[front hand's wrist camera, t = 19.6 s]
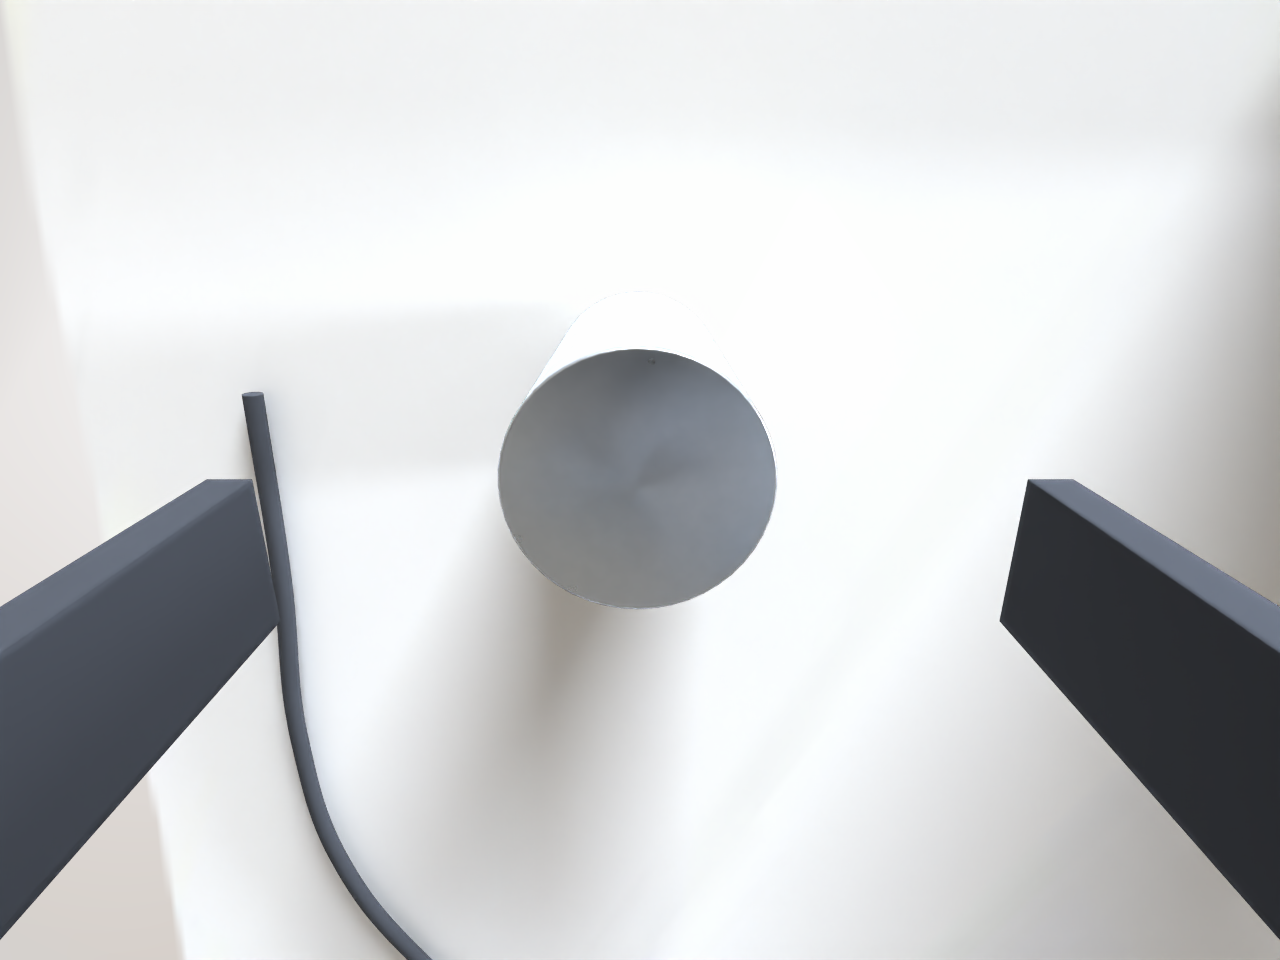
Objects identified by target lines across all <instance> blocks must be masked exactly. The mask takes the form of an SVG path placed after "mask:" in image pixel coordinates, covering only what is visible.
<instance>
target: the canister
mask: <svg viewBox="0 0 1280 960" xmlns="http://www.w3.org/2000/svg"><path fill="white" fill-rule="evenodd" d="M776 489H777V466H776V459H775V452H774V448H773V445H772V441H771V438H770V434H769V432H768V430H767V428H766V426H765V423H764V421H763V419H762V417H761V416H760V414H759V412H758V411H757V409H756V408H755V406H754V404H753V403H752V401H751V400H750V398H749V396H748V395H747V393H746V391H745V390H744V388H743V387H742V385H741V383H740V382H739V380H738V379H737V377H736V375H735V374H734V372H733V371H732V369H731V367H730V366H729V364H728V363H727V361H726V359H725V358H724V356H723V355H722V353H721V351H720V350H719V348H718V347H717V345H716V343H715V342H714V340H713V338H712V337H711V335H710V334H709V332H708V331H707V329H706V327H705V326H704V324H703V323H702V322H701V321H700V320H699V318H698V317H697V316H696V315H695V314H693V313H692V312H691V311H690V310H689V309H688V308H686V307H685V306H683V305H682V304H680V303H679V302H677V301H675V300H673V299H671V298H668V297H665V296H662V295H659V294H654V293H649V292H626V293H621V294H616V295H613V296H610V297H608V298H605V299H603V300H601V301H599V302H597V303H595V304H594V305H592V306H591V307H589V308H588V309H587V310H585V311H584V312H583V313H582V314H581V315H580V316H579V317H578V318H577V319H576V320H575V322H574V323H573V324H572V325H571V327H570V328H569V330H568V331H567V333H566V335H565V336H564V338H563V339H562V341H561V342H560V344H559V346H558V347H557V349H556V350H555V352H554V354H553V355H552V357H551V358H550V360H549V361H548V363H547V365H546V366H545V368H544V369H543V371H542V372H541V374H540V376H539V377H538V379H537V380H536V382H535V384H534V385H533V387H532V388H531V390H530V391H529V393H528V395H527V396H526V398H525V399H524V401H523V402H522V404H521V406H520V407H519V409H518V410H517V412H516V414H515V415H514V417H513V419H512V421H511V423H510V425H509V427H508V430H507V432H506V434H505V437H504V441H503V444H502V448H501V451H500V457H499V465H498V490H499V497H500V504H501V507H502V511H503V514H504V518H505V521H506V523H507V525H508V528H509V530H510V532H511V534H512V536H513V538H514V540H515V541H516V543H517V545H518V546H519V548H520V549H521V551H522V552H523V553H524V555H525V556H526V557H527V558H528V559H529V561H530V562H531V563H532V564H533V565H534V566H535V567H536V568H537V569H538V570H539V571H540V572H541V573H542V574H543V575H544V576H546V577H547V578H548V579H550V580H551V581H552V582H554V583H555V584H556V585H558V586H559V587H561V588H563V589H565V590H566V591H568V592H570V593H572V594H574V595H576V596H578V597H581V598H583V599H585V600H588V601H591V602H594V603H598V604H601V605H605V606H611V607H617V608H626V609H648V608H658V607H664V606H670V605H674V604H677V603H680V602H684V601H687V600H690V599H692V598H694V597H697V596H699V595H701V594H704V593H705V592H707V591H709V590H710V589H712V588H714V587H716V586H717V585H719V584H720V583H721V582H723V581H724V580H725V579H727V578H728V577H729V576H731V575H732V574H733V573H734V572H735V571H736V570H737V569H738V568H739V567H740V566H741V565H742V564H743V563H744V562H745V561H746V559H747V558H748V557H749V556H750V554H751V553H752V552H753V551H754V549H755V548H756V546H757V544H758V543H759V541H760V539H761V538H762V536H763V534H764V532H765V530H766V527H767V525H768V523H769V520H770V517H771V514H772V510H773V507H774V503H775V496H776Z"/></svg>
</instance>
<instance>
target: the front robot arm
mask: <svg viewBox="0 0 1280 960" xmlns="http://www.w3.org/2000/svg"><path fill="white" fill-rule="evenodd" d="M242 399H243V405H244V411H245V417H246V423H247V429H248V435H249V440H250V446H251V452H252V458H253V464H254V470H255V475H256V481H257V487H258V493H259V499H260V505H261V511H262V517H263V523H264V529H265V535H266V542H267V548H268V555H269V562H270V567H269V562H268V557H267V552H266V547H265V542H264V537H263V532H262V527H261V522H260V517H259V512H258V507H257V502H256V497H255V492H254V487H253V482H252V479H207V480H205V481H203V482H202V483H200V484H199V485H197V486H195V487H194V488H192V489H191V490H189V491H187V492H186V493H184V494H182V495H181V496H179V497H178V498H176V499H174V500H173V501H171V502H169V503H168V504H166V505H165V506H163V507H161V508H160V509H158V510H156V511H155V512H153V513H152V514H150V515H148V516H147V517H145V518H144V519H142V520H140V521H139V522H137V523H135V524H134V525H132V526H131V527H129V528H127V529H126V530H124V531H122V532H121V533H119V534H118V535H116V536H114V537H113V538H111V539H109V540H108V541H106V542H105V543H103V544H101V545H100V546H98V547H97V548H95V549H93V550H92V551H90V552H88V553H87V554H85V555H84V556H82V557H80V558H79V559H77V560H75V561H74V562H72V563H71V564H69V565H67V566H66V567H64V568H63V569H61V570H59V571H58V572H56V573H54V574H53V575H51V576H50V577H48V578H46V579H45V580H43V581H41V582H40V583H38V584H37V585H35V586H33V587H32V588H30V589H28V590H27V591H25V592H24V593H22V594H20V595H19V596H17V597H15V598H14V599H12V600H11V601H9V602H7V603H6V604H4V605H3V606H1V607H0V939H1V938H2V937H3V936H4V935H5V934H6V933H7V931H8V930H9V929H10V928H11V927H12V926H13V925H14V924H15V922H16V921H17V920H18V919H19V918H20V917H21V916H22V914H23V913H24V912H25V911H26V910H27V909H28V908H29V906H30V905H31V904H32V903H33V902H34V901H35V900H36V899H37V897H38V896H39V895H40V894H41V893H42V892H43V891H44V889H45V888H46V887H47V886H48V885H49V884H50V883H51V881H52V880H53V879H54V878H55V877H56V876H57V875H58V873H59V872H60V871H61V870H62V869H63V868H64V867H65V865H66V864H67V863H68V862H69V861H70V860H71V859H72V858H73V856H74V855H75V854H76V853H77V852H78V851H79V850H80V848H81V847H82V846H83V845H84V844H85V843H86V842H87V840H88V839H89V838H90V837H91V836H92V835H93V834H94V833H95V831H96V830H97V829H98V828H99V827H100V826H101V825H102V823H103V822H104V821H105V820H106V819H107V818H108V817H109V815H110V814H111V813H112V812H113V811H114V810H115V809H116V807H117V806H118V805H119V804H120V803H121V802H122V801H123V800H124V798H125V797H126V796H127V795H128V794H129V793H130V792H131V790H132V789H133V788H134V787H135V786H136V785H137V784H138V782H139V781H140V780H141V779H142V778H143V777H144V776H145V775H146V773H147V772H148V771H149V770H150V769H151V768H152V767H153V765H154V764H155V763H156V762H157V761H158V760H159V759H160V757H161V756H162V755H163V754H164V753H165V752H166V751H167V750H168V748H169V747H170V746H171V745H172V744H173V743H174V742H175V740H176V739H177V738H178V737H179V736H180V735H181V734H182V732H183V731H184V730H185V729H186V728H187V727H188V726H189V725H190V723H191V722H192V721H193V720H194V719H195V718H196V717H197V715H198V714H199V713H200V712H201V711H202V710H203V709H204V707H205V706H206V705H207V704H208V703H209V702H210V701H211V699H212V698H213V697H214V696H215V695H216V694H217V693H218V692H219V690H220V689H221V688H222V687H223V686H224V685H225V684H226V682H227V681H228V680H229V679H230V678H231V677H232V676H233V674H234V673H235V672H236V671H237V670H238V669H239V668H240V667H241V665H242V664H243V663H244V662H245V661H246V660H247V659H248V657H249V656H250V655H251V654H252V653H253V652H254V651H255V649H256V648H257V647H258V646H259V645H260V644H261V643H262V641H263V640H264V639H265V638H266V637H267V636H268V635H269V634H270V632H271V631H272V630H273V629H274V628H275V627H276V626H277V630H278V644H279V659H280V672H281V683H282V693H283V701H284V708H285V714H286V720H287V725H288V730H289V735H290V740H291V744H292V748H293V753H294V757H295V761H296V765H297V770H298V774H299V778H300V782H301V785H302V789H303V793H304V796H305V800H306V803H307V806H308V810H309V813H310V815H311V818H312V821H313V824H314V826H315V829H316V831H317V834H318V836H319V838H320V841H321V843H322V845H323V847H324V849H325V851H326V853H327V855H328V857H329V859H330V861H331V862H332V864H333V866H334V868H335V870H336V871H337V873H338V875H339V876H340V878H341V880H342V881H343V883H344V885H345V886H346V888H347V889H348V891H349V892H350V894H351V895H352V897H353V898H354V900H355V901H356V903H357V904H358V905H359V907H360V908H361V909H362V911H363V912H364V913H365V914H366V916H367V917H368V918H369V919H370V921H371V922H372V923H373V924H374V925H375V927H376V928H377V929H378V930H379V931H380V932H381V933H382V934H383V935H384V936H385V938H386V939H387V940H388V941H389V942H390V943H391V944H392V945H393V946H394V947H395V948H396V949H397V950H398V951H399V952H400V953H401V954H402V955H403V956H404V957H405V958H406V959H407V960H432V959H431V958H430V957H429V956H428V955H427V954H426V953H425V952H424V951H423V950H422V949H421V948H420V947H419V946H418V945H417V944H416V943H415V942H414V941H413V940H412V939H411V938H410V937H409V936H408V935H407V934H406V933H405V932H404V931H403V930H402V929H401V928H400V927H399V926H398V925H397V924H396V922H395V921H394V920H393V919H392V918H391V917H390V916H389V915H388V913H387V912H386V911H385V910H384V909H383V907H382V906H381V905H380V904H379V902H378V901H377V900H376V899H375V897H374V896H373V895H372V893H371V892H370V890H369V889H368V888H367V886H366V885H365V883H364V882H363V880H362V878H361V877H360V875H359V874H358V872H357V871H356V869H355V867H354V865H353V864H352V862H351V860H350V858H349V857H348V855H347V853H346V851H345V849H344V847H343V845H342V843H341V841H340V839H339V837H338V835H337V833H336V831H335V829H334V826H333V824H332V822H331V819H330V816H329V814H328V811H327V808H326V805H325V802H324V799H323V796H322V793H321V789H320V785H319V782H318V778H317V774H316V770H315V765H314V761H313V757H312V752H311V748H310V743H309V739H308V734H307V729H306V724H305V718H304V713H303V706H302V698H301V689H300V678H299V664H298V647H297V630H296V617H295V605H294V595H293V587H292V579H291V571H290V563H289V556H288V549H287V542H286V535H285V528H284V522H283V515H282V509H281V502H280V496H279V490H278V484H277V477H276V471H275V465H274V459H273V453H272V446H271V440H270V434H269V428H268V421H267V415H266V408H265V402H264V395H263V393H261V392H250V393H244V394H242ZM270 569H271V572H270ZM271 576H272V577H271ZM1000 622H1001V623H1002V624H1003V626H1004V627H1005V628H1006V629H1007V630H1008V631H1009V632H1010V634H1011V635H1012V636H1013V637H1014V638H1015V639H1016V640H1017V641H1018V643H1019V644H1020V645H1021V646H1022V647H1023V648H1024V649H1025V651H1026V652H1027V653H1028V654H1029V655H1030V656H1031V657H1032V659H1033V660H1034V661H1035V662H1036V663H1037V664H1038V665H1039V667H1040V668H1041V669H1042V670H1043V671H1044V672H1045V673H1046V674H1047V676H1048V677H1049V678H1050V679H1051V680H1052V681H1053V682H1054V684H1055V685H1056V686H1057V687H1058V688H1059V689H1060V690H1061V692H1062V693H1063V694H1064V695H1065V696H1066V697H1067V698H1068V699H1069V701H1070V702H1071V703H1072V704H1073V705H1074V706H1075V707H1076V709H1077V710H1078V711H1079V712H1080V713H1081V714H1082V715H1083V717H1084V718H1085V719H1086V720H1087V721H1088V722H1089V723H1090V725H1091V726H1092V727H1093V728H1094V729H1095V730H1096V731H1097V732H1098V734H1099V735H1100V736H1101V737H1102V738H1103V739H1104V740H1105V742H1106V743H1107V744H1108V745H1109V746H1110V747H1111V748H1112V750H1113V751H1114V752H1115V753H1116V754H1117V755H1118V756H1119V757H1120V759H1121V760H1122V761H1123V762H1124V763H1125V764H1126V765H1127V767H1128V768H1129V769H1130V770H1131V771H1132V772H1133V773H1134V775H1135V776H1136V777H1137V778H1138V779H1139V780H1140V781H1141V783H1142V784H1143V785H1144V786H1145V787H1146V788H1147V789H1148V790H1149V792H1150V793H1151V794H1152V795H1153V796H1154V797H1155V798H1156V800H1157V801H1158V802H1159V803H1160V804H1161V805H1162V806H1163V808H1164V809H1165V810H1166V811H1167V812H1168V813H1169V814H1170V815H1171V817H1172V818H1173V819H1174V820H1175V821H1176V822H1177V823H1178V825H1179V826H1180V827H1181V828H1182V829H1183V830H1184V831H1185V833H1186V834H1187V835H1188V836H1189V837H1190V838H1191V839H1192V841H1193V842H1194V843H1195V844H1196V845H1197V846H1198V847H1199V848H1200V850H1201V851H1202V852H1203V853H1204V854H1205V855H1206V856H1207V858H1208V859H1209V860H1210V861H1211V862H1212V863H1213V864H1214V866H1215V867H1216V868H1217V869H1218V870H1219V871H1220V872H1221V873H1222V875H1223V876H1224V877H1225V878H1226V879H1227V880H1228V881H1229V883H1230V884H1231V885H1232V886H1233V887H1234V888H1235V889H1236V891H1237V892H1238V893H1239V894H1240V895H1241V896H1242V897H1243V899H1244V900H1245V901H1246V902H1247V903H1248V904H1249V905H1250V906H1251V908H1252V909H1253V910H1254V911H1255V912H1256V913H1257V914H1258V916H1259V917H1260V918H1261V919H1262V920H1263V921H1264V922H1265V924H1266V925H1267V926H1268V927H1269V928H1270V929H1271V930H1272V931H1273V933H1274V934H1275V935H1276V936H1277V937H1278V938H1279V939H1280V607H1279V606H1277V605H1276V604H1274V603H1273V602H1271V601H1269V600H1268V599H1266V598H1265V597H1263V596H1261V595H1260V594H1258V593H1256V592H1255V591H1253V590H1252V589H1250V588H1248V587H1247V586H1245V585H1243V584H1242V583H1240V582H1239V581H1237V580H1235V579H1234V578H1232V577H1230V576H1229V575H1227V574H1226V573H1224V572H1222V571H1221V570H1219V569H1218V568H1216V567H1214V566H1213V565H1211V564H1209V563H1208V562H1206V561H1205V560H1203V559H1201V558H1200V557H1198V556H1196V555H1195V554H1193V553H1192V552H1190V551H1188V550H1187V549H1185V548H1183V547H1182V546H1180V545H1179V544H1177V543H1175V542H1174V541H1172V540H1171V539H1169V538H1167V537H1166V536H1164V535H1162V534H1161V533H1159V532H1158V531H1156V530H1154V529H1153V528H1151V527H1149V526H1148V525H1146V524H1145V523H1143V522H1141V521H1140V520H1138V519H1136V518H1135V517H1133V516H1132V515H1130V514H1128V513H1127V512H1125V511H1124V510H1122V509H1120V508H1119V507H1117V506H1115V505H1114V504H1112V503H1111V502H1109V501H1107V500H1106V499H1104V498H1102V497H1101V496H1099V495H1098V494H1096V493H1094V492H1093V491H1091V490H1089V489H1088V488H1086V487H1085V486H1083V485H1081V484H1080V483H1078V482H1077V481H1075V480H1073V479H1028V482H1027V487H1026V492H1025V497H1024V502H1023V507H1022V512H1021V517H1020V522H1019V527H1018V532H1017V537H1016V542H1015V547H1014V552H1013V557H1012V562H1011V567H1010V572H1009V577H1008V582H1007V587H1006V592H1005V597H1004V602H1003V607H1002V612H1001V617H1000Z"/></svg>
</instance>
